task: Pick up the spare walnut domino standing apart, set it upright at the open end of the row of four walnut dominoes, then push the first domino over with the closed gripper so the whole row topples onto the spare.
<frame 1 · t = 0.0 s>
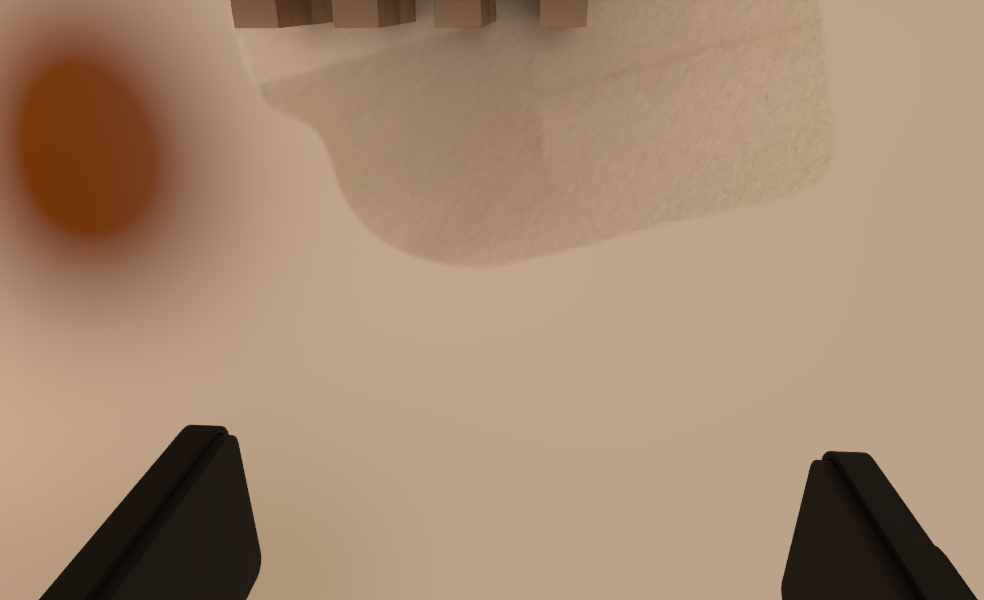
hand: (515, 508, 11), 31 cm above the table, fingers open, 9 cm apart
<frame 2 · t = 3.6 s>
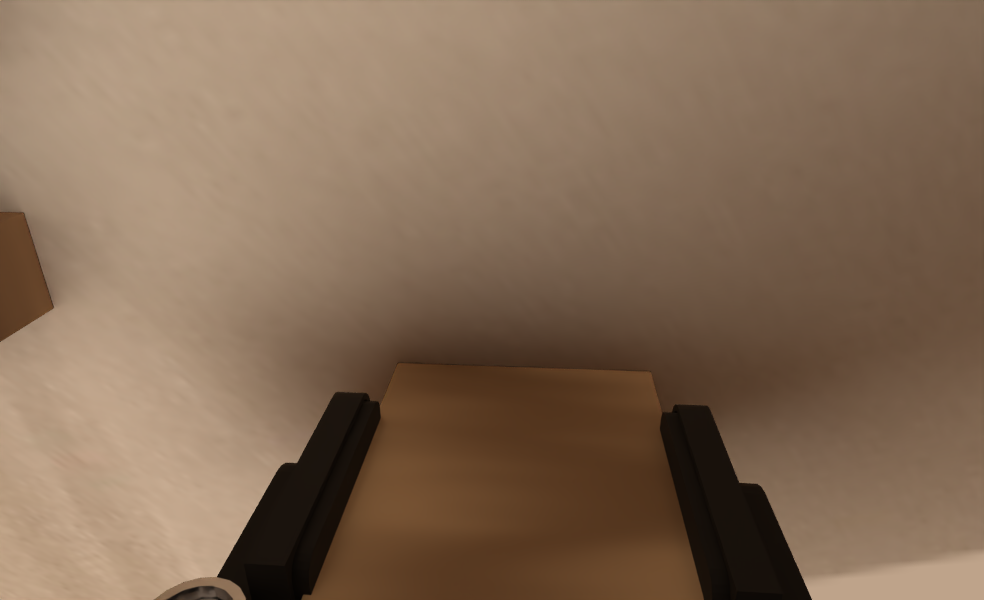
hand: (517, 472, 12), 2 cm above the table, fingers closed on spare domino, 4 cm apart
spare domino: (521, 409, 13), on the table, touching gripper
when the fingers open (3 cm above the table, at t = 8.6 s): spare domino drops 1 cm, on the table.
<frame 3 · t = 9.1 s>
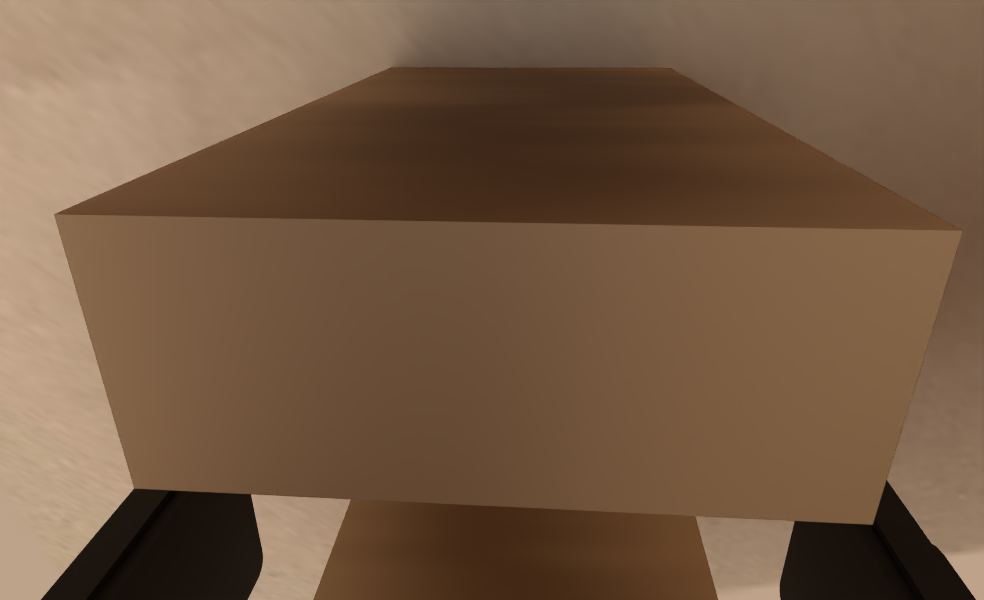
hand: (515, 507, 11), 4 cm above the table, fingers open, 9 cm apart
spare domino: (527, 378, 14), on the table
domino 4: (527, 124, 12), on the table
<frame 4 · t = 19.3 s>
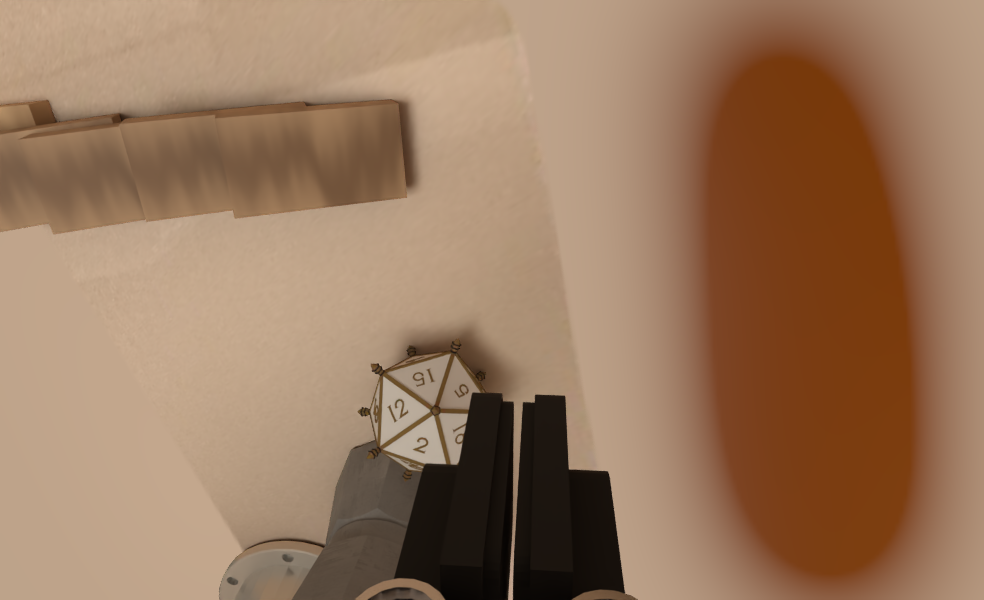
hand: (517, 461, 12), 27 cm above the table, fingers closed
coffeepot: (391, 492, 48), on the table
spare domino: (57, 146, 38), point 1 cm above the table, tilted 90°
domino 1: (399, 148, 36), point 1 cm above the table, tilted 67°, touching domino 2
domino 4: (130, 160, 38), point 1 cm above the table, tilted 69°, touching domino 3
domino 2: (312, 150, 37), point 1 cm above the table, tilted 68°, touching domino 1, domino 3
domino 3: (219, 158, 37), point 1 cm above the table, tilted 67°, touching domino 2, domino 4
game die: (441, 375, 43), on the table
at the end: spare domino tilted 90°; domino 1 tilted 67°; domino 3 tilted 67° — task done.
